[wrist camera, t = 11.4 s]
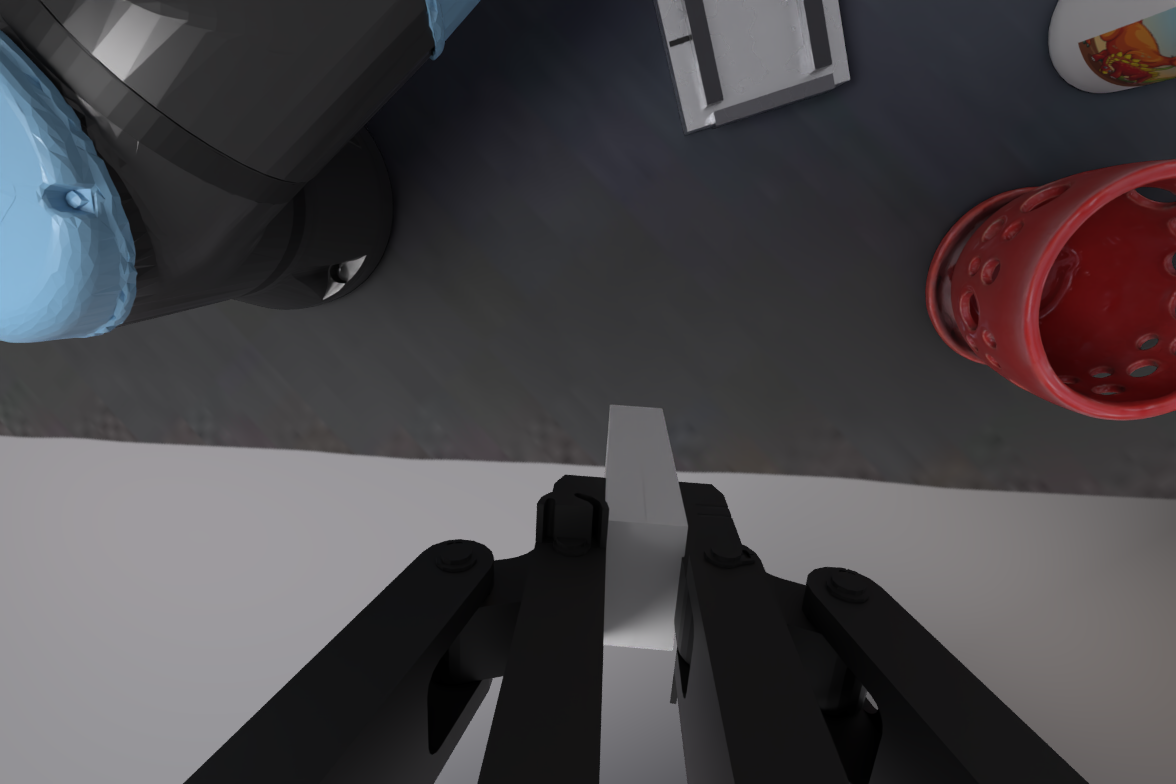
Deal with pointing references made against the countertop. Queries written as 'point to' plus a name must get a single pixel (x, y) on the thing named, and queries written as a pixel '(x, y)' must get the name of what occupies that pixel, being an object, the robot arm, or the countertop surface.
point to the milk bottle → (1113, 43)
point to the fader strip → (749, 55)
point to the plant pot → (1067, 289)
